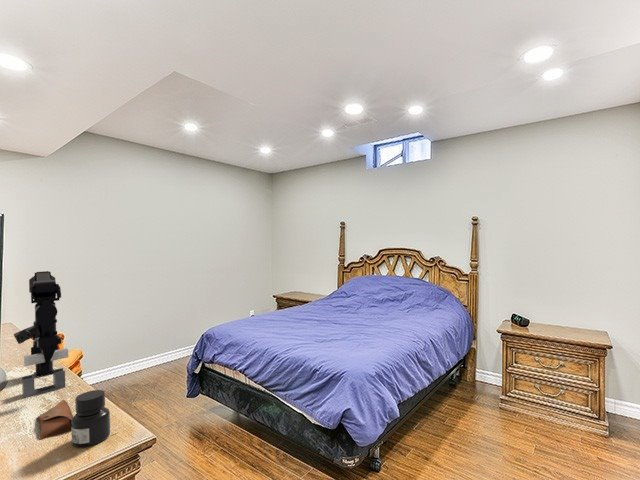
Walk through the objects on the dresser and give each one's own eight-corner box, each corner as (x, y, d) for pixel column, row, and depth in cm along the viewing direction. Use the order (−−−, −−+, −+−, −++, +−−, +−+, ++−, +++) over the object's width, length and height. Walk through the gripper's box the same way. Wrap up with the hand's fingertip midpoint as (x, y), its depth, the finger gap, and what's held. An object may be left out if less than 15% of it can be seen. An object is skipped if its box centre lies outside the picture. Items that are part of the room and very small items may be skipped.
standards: (22, 394, 127) (22, 376, 127) (63, 383, 135) (62, 367, 135) (23, 397, 123) (23, 380, 123) (65, 387, 132) (64, 370, 132)
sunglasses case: (34, 417, 109) (47, 395, 111) (58, 421, 113) (71, 400, 115) (38, 441, 95) (53, 415, 98) (66, 445, 100) (80, 420, 102)
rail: (24, 364, 119) (23, 356, 119) (66, 355, 128) (66, 348, 128) (24, 366, 117) (24, 358, 117) (68, 357, 126) (68, 349, 126)
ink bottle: (67, 439, 96) (66, 395, 96) (103, 426, 103) (102, 385, 103) (77, 453, 90) (76, 406, 90) (115, 438, 96) (114, 394, 96)
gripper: (13, 318, 124) (14, 362, 124) (17, 325, 111) (19, 375, 110) (52, 313, 132) (53, 354, 131) (61, 319, 118) (62, 365, 118)
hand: (46, 362), depth 123 cm, fingers closed on rail, 3 cm apart
